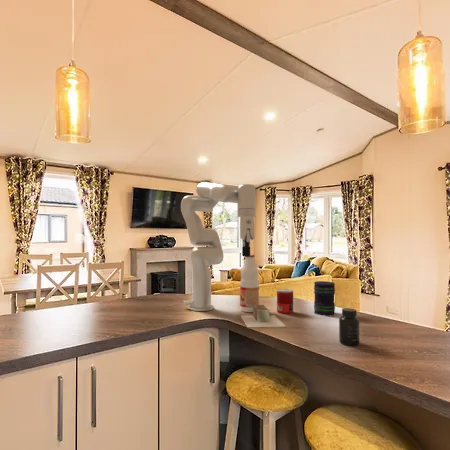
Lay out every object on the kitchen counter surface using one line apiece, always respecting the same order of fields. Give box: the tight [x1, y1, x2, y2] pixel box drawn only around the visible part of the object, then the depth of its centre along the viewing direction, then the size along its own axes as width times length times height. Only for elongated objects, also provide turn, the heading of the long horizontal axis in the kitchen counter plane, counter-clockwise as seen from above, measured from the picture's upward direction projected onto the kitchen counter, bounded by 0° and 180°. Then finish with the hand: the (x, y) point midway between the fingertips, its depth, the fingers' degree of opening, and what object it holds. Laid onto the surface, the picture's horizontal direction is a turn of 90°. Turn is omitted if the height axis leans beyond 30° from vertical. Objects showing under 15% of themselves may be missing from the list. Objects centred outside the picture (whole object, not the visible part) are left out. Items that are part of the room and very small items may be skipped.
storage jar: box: [313, 280, 336, 317], centre depth 158 cm, size 10×10×15 cm
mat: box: [240, 314, 286, 329], centre depth 141 cm, size 16×18×1 cm
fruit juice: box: [239, 254, 260, 313], centre depth 162 cm, size 9×9×28 cm
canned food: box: [276, 288, 294, 315], centre depth 159 cm, size 8×8×11 cm
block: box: [252, 304, 270, 322], centre depth 144 cm, size 5×5×11 cm
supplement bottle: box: [338, 307, 361, 347], centre depth 114 cm, size 7×7×12 cm
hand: (246, 256), depth 137 cm, fingers closed
